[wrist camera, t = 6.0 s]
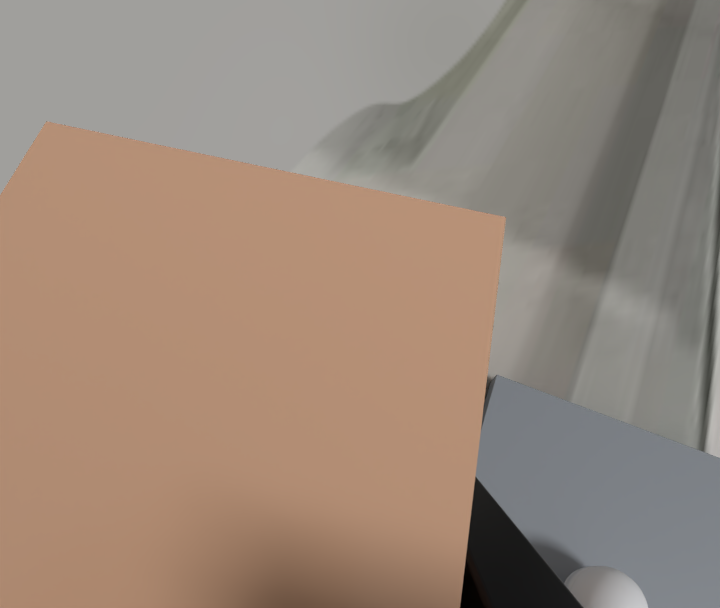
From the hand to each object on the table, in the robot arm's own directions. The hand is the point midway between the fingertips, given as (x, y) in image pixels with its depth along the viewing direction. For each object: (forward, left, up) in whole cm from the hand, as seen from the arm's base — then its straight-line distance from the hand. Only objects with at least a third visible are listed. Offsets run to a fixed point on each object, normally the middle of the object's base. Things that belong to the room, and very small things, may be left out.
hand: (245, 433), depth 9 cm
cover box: (0, 0, -7) cm, 7 cm away
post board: (+9, -6, -13) cm, 17 cm away
